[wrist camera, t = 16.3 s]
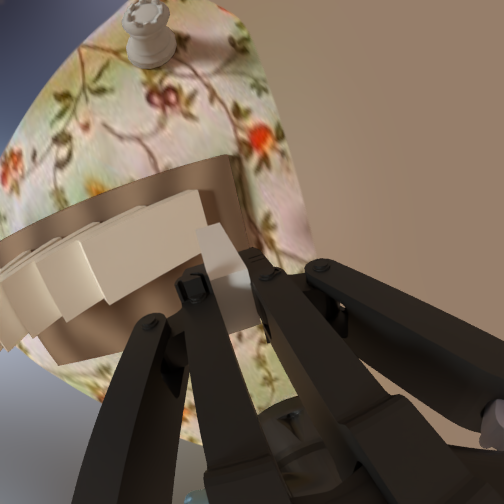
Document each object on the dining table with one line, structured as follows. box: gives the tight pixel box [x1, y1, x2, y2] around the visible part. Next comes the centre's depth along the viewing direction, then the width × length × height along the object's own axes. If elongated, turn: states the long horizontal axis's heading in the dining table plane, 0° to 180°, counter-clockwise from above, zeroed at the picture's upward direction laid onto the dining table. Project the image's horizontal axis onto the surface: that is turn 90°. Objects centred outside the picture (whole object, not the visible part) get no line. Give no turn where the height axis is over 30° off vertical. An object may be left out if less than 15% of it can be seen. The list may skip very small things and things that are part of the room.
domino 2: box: [0, 222, 100, 338], centre depth 18 cm, size 2×5×10 cm
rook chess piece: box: [122, 0, 177, 69], centre depth 15 cm, size 4×4×8 cm
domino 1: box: [0, 237, 62, 352], centre depth 17 cm, size 2×5×10 cm
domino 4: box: [78, 190, 208, 305], centre depth 20 cm, size 2×5×10 cm
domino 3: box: [34, 206, 146, 323], centre depth 19 cm, size 2×5×10 cm
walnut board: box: [0, 154, 250, 366], centre depth 24 cm, size 26×16×2 cm, turn 102°
